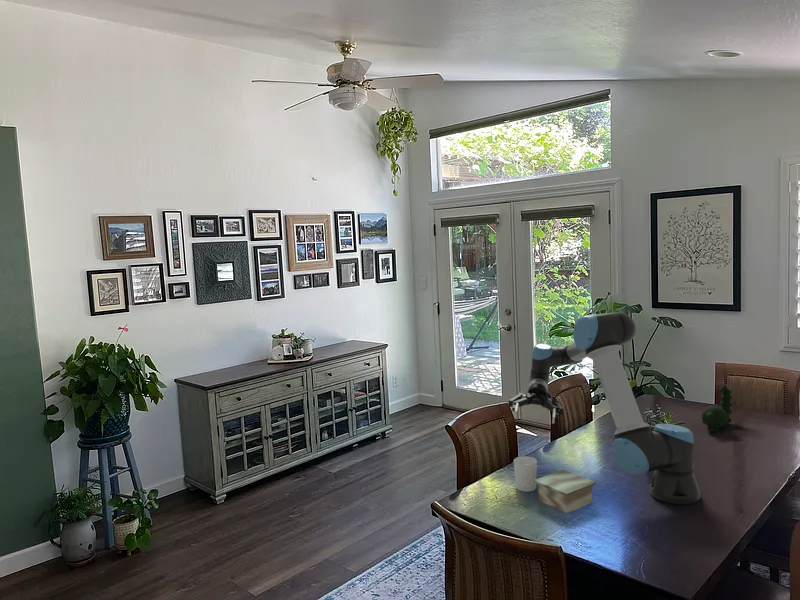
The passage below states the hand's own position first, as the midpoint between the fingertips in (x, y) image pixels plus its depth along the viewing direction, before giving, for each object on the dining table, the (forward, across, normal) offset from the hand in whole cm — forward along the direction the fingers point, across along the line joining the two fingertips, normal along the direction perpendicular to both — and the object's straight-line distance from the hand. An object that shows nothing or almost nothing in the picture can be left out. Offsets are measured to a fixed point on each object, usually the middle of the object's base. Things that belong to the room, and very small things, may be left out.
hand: (534, 417), depth 214 cm
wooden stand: (+24, -13, -16) cm, 32 cm away
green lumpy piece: (-60, -78, -24) cm, 101 cm away
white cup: (+16, 0, -20) cm, 25 cm away
